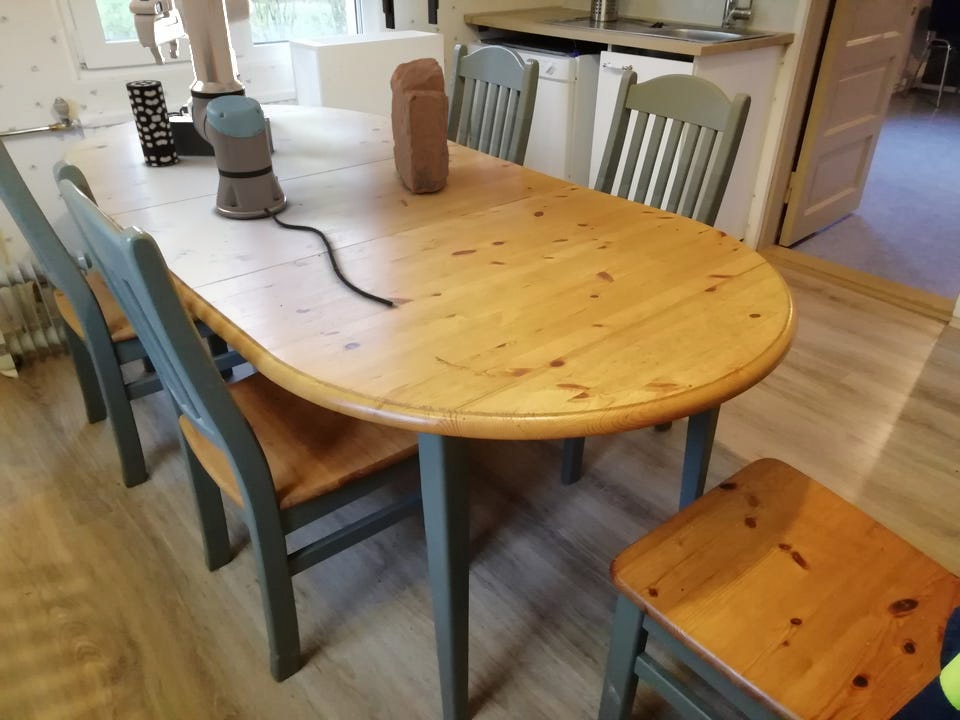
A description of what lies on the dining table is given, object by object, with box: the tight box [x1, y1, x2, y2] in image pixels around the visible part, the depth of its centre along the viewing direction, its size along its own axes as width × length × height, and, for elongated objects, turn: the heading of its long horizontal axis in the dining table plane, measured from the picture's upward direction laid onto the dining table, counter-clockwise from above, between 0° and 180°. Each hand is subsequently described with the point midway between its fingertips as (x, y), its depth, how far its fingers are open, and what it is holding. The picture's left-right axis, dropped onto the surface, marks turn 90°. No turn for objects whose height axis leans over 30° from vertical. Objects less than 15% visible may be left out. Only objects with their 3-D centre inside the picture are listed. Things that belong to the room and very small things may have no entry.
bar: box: [169, 115, 275, 157], centre depth 192 cm, size 27×6×9 cm, turn 89°
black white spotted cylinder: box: [125, 79, 179, 167], centre depth 181 cm, size 8×8×20 cm
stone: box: [389, 57, 450, 194], centre depth 168 cm, size 22×11×28 cm, turn 18°
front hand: (412, 26), depth 172 cm, fingers open, 13 cm apart
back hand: (168, 61), depth 181 cm, fingers open, 8 cm apart
